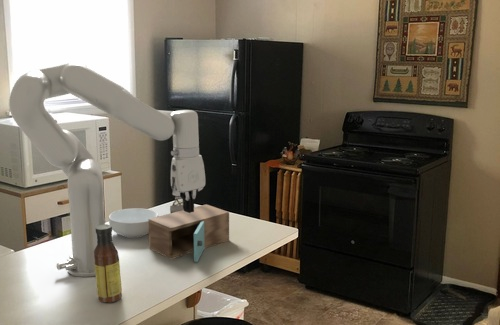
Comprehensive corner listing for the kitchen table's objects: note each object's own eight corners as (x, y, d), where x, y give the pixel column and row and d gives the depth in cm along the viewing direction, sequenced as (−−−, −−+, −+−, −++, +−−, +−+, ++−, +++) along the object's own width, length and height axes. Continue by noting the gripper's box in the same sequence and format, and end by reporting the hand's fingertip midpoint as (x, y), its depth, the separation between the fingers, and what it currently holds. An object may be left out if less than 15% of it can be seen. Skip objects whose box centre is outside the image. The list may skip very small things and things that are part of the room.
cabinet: (171, 258, 174) (170, 228, 172) (149, 248, 183) (148, 218, 180) (229, 240, 190) (229, 212, 188) (206, 231, 199) (206, 204, 197)
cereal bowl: (139, 245, 185) (138, 225, 183) (99, 238, 192) (98, 218, 190) (168, 230, 200) (167, 211, 198) (130, 223, 207) (129, 205, 205)
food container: (188, 233, 196) (187, 206, 194) (170, 233, 197) (169, 206, 194) (192, 222, 208) (192, 196, 206) (175, 222, 209) (175, 196, 206)
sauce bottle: (124, 293, 151) (120, 222, 146) (119, 303, 145) (116, 230, 140) (99, 293, 150) (95, 222, 146) (93, 304, 144) (89, 230, 140)
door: (201, 262, 170) (200, 234, 168) (194, 261, 171) (193, 233, 169) (208, 248, 182) (207, 221, 180) (201, 247, 182) (201, 221, 180)
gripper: (173, 158, 159) (176, 220, 163) (213, 150, 169) (215, 208, 173) (158, 154, 164) (161, 214, 168) (198, 146, 174) (200, 203, 178)
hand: (188, 211), depth 171 cm, fingers closed
